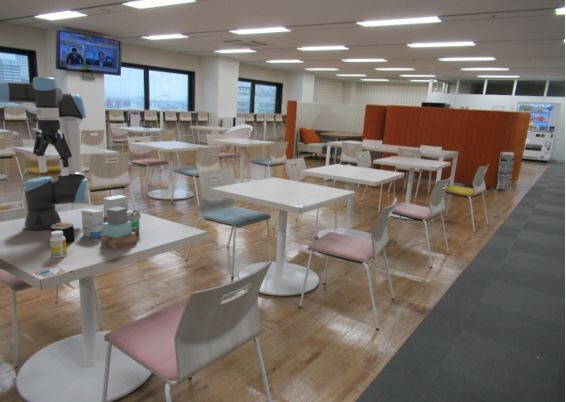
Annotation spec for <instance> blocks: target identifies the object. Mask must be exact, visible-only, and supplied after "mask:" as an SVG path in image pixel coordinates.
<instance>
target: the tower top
mask: <svg viewBox="0 0 566 402" xmlns="http://www.w3.org/2000/svg"><path fill="white" fill-rule="evenodd" d="M102 229H103V235H105V236H109V237H114V238H119V237H122V236H125V235H128V234H130V233H132V228H131V222H129V221H128V222H125V223H123V224H120V225H115V224H109V223H108V221H107V222H104V223H103V224H102Z"/></svg>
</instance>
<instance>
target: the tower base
mask: <svg viewBox="0 0 566 402" xmlns="http://www.w3.org/2000/svg"><path fill="white" fill-rule="evenodd" d="M99 238H100V246H101V247H105V248H109V249H112V250H116V251H119V250H122V249H124V248H125V249H126V248H127V247H131V246H133V245H135V244H137V243H138V241H137V236H136V233H135V232H132V233H130V234H128V235H125V236H122V237H119V238H114V237H109V236H105V235H103V234H102V235H100V237H99Z"/></svg>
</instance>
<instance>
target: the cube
mask: <svg viewBox="0 0 566 402" xmlns="http://www.w3.org/2000/svg"><path fill="white" fill-rule="evenodd" d="M106 219H107V222H108V223H109V224H115V225H120V224H123V223H125V222H128V219H127V208H123V207H113V208H110V209H107V218H106Z"/></svg>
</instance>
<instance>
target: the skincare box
mask: <svg viewBox="0 0 566 402" xmlns="http://www.w3.org/2000/svg"><path fill="white" fill-rule="evenodd" d="M102 201H103V202H102V204H103V218H105V219H107V209H110V208H113V207H123V208H127V211H129V209H128V196H125V195H122V194H119V195H118V194H117V195H112V196H107V197H103V198H102Z"/></svg>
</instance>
